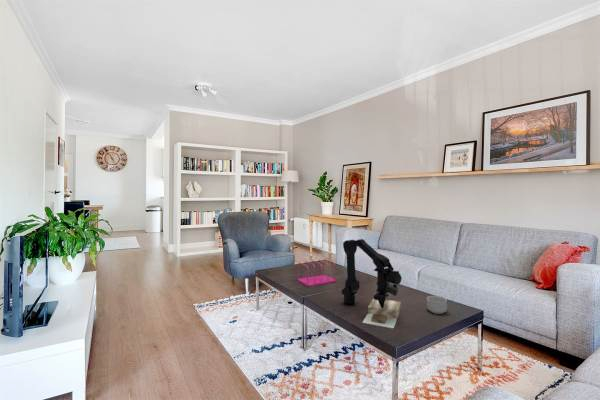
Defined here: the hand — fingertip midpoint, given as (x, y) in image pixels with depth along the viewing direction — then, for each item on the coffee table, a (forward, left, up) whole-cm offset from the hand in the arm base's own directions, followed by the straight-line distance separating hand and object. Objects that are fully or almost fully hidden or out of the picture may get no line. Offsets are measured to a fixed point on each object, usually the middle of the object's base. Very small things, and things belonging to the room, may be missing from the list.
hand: (382, 307), depth 171 cm
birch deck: (0, +8, -5) cm, 9 cm away
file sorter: (-58, +45, -5) cm, 74 cm away
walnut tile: (-1, -7, -2) cm, 7 cm away
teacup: (+28, +21, -5) cm, 35 cm away
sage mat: (0, -6, -5) cm, 8 cm away
